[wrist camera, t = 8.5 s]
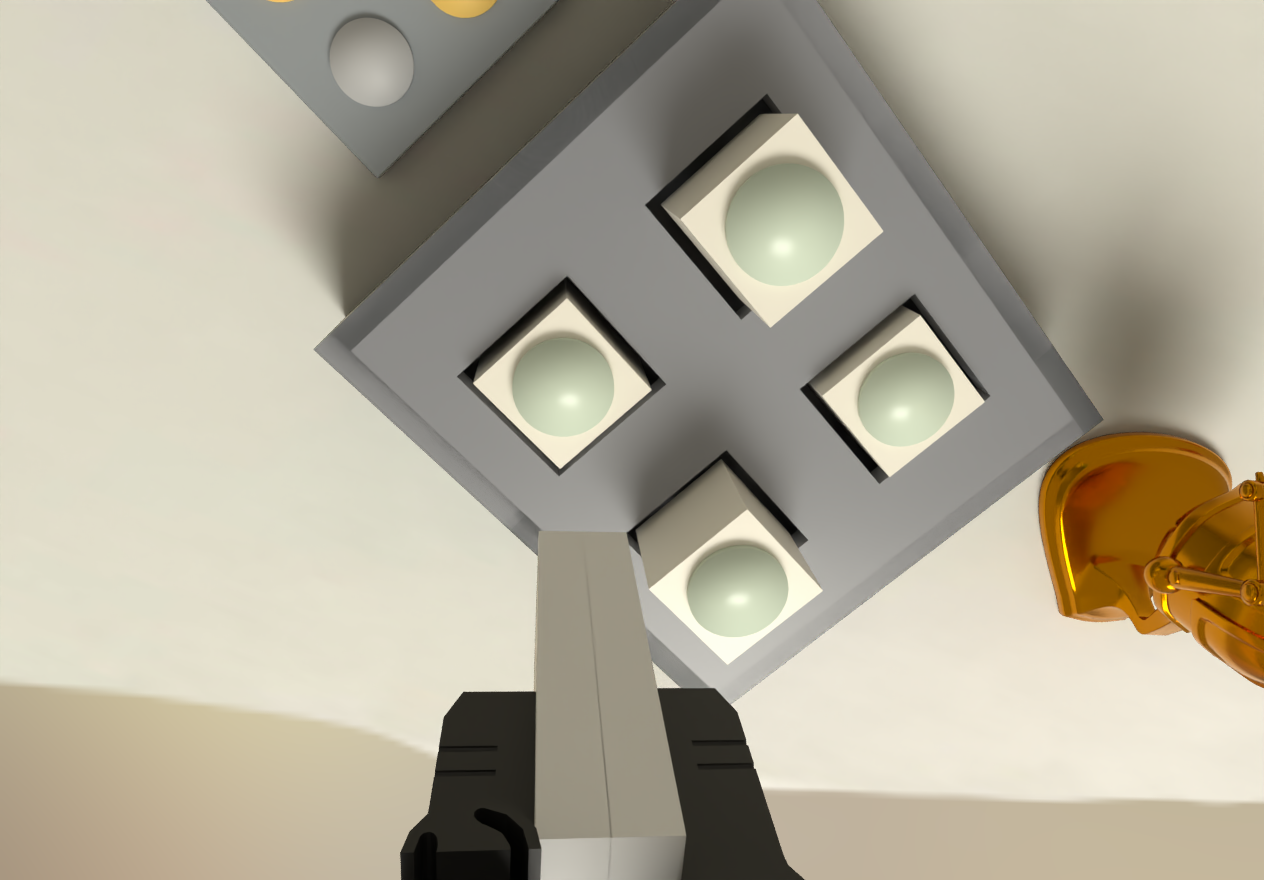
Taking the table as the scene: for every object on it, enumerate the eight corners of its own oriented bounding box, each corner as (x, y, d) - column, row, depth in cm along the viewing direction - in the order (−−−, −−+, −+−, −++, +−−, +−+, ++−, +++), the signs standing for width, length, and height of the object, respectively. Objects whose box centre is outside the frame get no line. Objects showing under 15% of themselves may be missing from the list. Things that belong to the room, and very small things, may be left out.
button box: (345, 317, 31) (313, 349, 26) (728, -50, 28) (762, -80, 23) (694, 649, 37) (713, 717, 33) (1034, 382, 34) (1103, 419, 30)
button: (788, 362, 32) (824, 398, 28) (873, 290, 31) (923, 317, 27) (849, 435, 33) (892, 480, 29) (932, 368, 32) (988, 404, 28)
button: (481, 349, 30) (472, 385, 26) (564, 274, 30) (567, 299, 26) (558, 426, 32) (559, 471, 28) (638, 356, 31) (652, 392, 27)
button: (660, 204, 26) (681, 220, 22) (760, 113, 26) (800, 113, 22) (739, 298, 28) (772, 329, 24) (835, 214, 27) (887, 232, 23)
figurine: (1260, 403, 36) (1588, 534, 24) (1172, 623, 39) (1422, 824, 28) (1073, 384, 34) (1328, 513, 23) (1000, 613, 38) (1190, 819, 27)
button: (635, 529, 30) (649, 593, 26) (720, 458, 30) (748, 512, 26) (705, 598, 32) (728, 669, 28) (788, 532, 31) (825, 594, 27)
